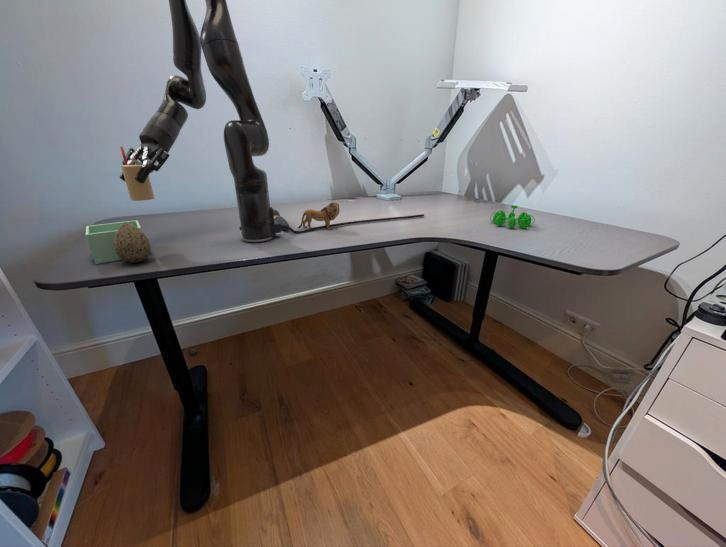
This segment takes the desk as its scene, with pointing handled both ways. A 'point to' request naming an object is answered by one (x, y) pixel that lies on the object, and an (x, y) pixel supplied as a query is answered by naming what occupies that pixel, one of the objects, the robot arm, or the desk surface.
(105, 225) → the bin
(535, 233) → the desk surface
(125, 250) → the decorative egg
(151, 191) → the paper cup
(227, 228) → the desk surface
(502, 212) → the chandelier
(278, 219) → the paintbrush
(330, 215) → the lion figurine
